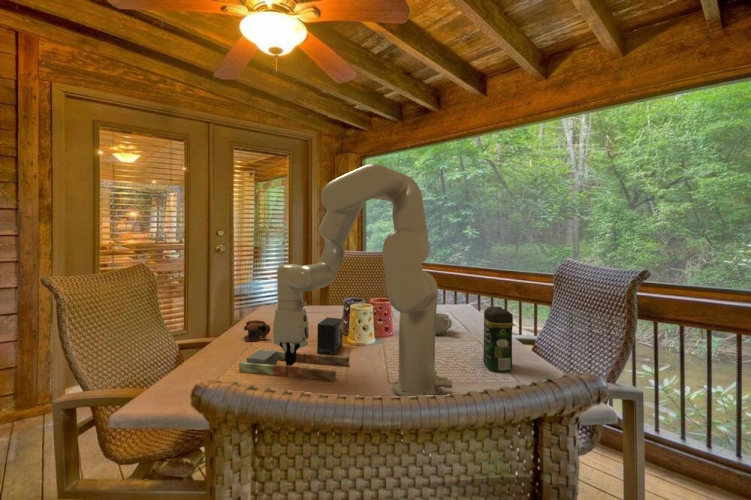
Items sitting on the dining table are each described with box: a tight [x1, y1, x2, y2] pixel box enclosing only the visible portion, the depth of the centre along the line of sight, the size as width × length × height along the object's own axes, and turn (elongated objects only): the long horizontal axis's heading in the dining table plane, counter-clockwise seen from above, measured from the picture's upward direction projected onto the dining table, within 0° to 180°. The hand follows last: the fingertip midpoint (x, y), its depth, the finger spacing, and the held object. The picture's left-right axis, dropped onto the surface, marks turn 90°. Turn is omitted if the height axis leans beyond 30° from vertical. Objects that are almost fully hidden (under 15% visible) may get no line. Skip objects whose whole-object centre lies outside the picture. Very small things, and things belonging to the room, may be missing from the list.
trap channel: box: [238, 349, 350, 382], centre depth 115 cm, size 30×13×2 cm, turn 76°
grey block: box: [246, 349, 278, 365], centre depth 116 cm, size 6×8×4 cm
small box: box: [316, 317, 344, 356], centre depth 133 cm, size 11×6×10 cm, turn 168°
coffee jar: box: [482, 306, 514, 373], centre depth 116 cm, size 10×8×19 cm
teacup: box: [435, 312, 453, 336], centre depth 155 cm, size 14×11×8 cm
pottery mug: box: [243, 320, 271, 342], centre depth 147 cm, size 12×10×8 cm
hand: (290, 364), depth 115 cm, fingers closed
